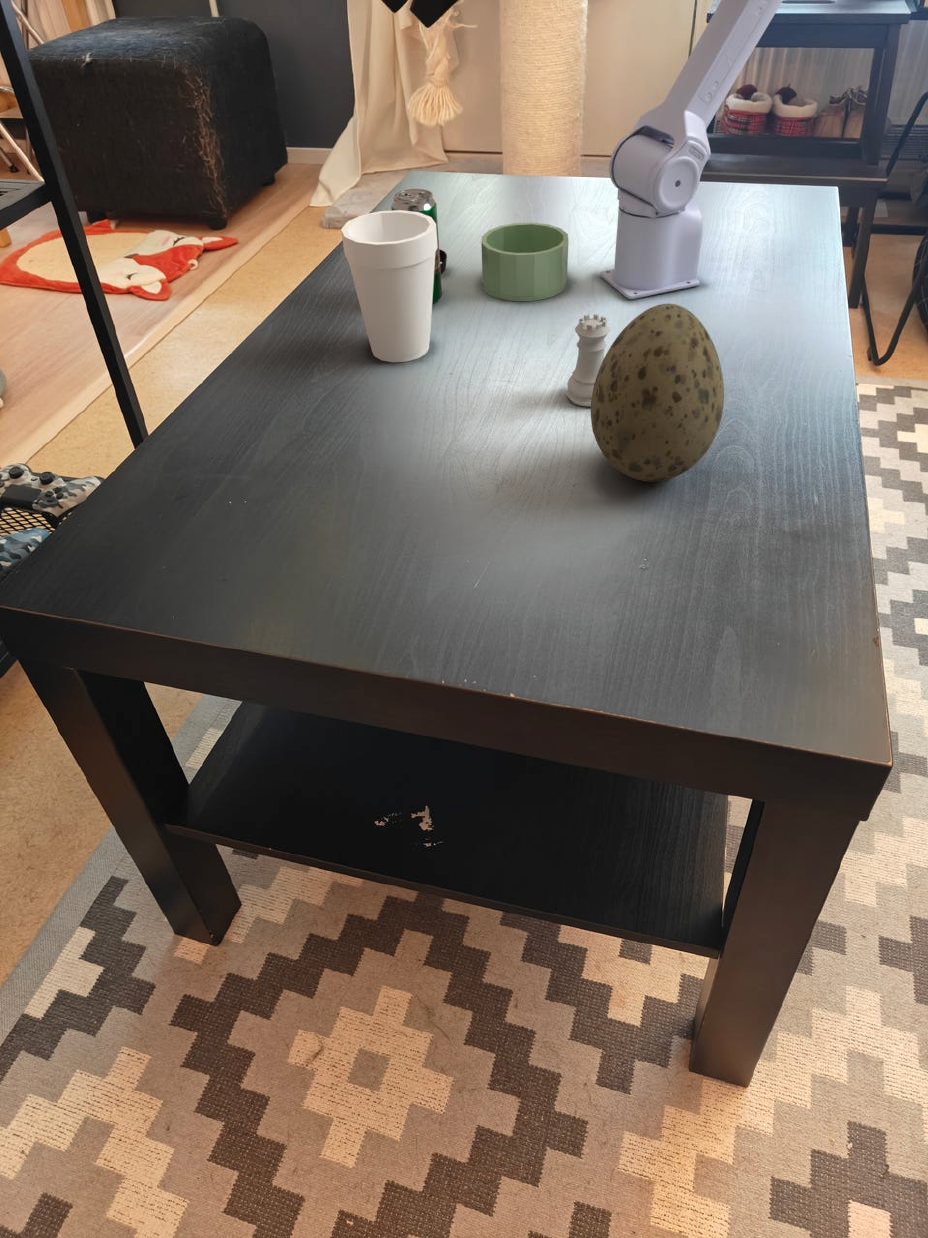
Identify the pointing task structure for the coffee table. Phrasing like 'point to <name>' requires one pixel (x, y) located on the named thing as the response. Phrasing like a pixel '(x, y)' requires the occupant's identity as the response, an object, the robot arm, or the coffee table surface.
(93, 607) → the coffee table surface
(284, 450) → the coffee table surface
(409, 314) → the foam cup
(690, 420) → the decorative egg
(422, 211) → the soda can
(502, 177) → the coffee table surface
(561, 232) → the green cup
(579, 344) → the rook chess piece
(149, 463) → the coffee table surface
